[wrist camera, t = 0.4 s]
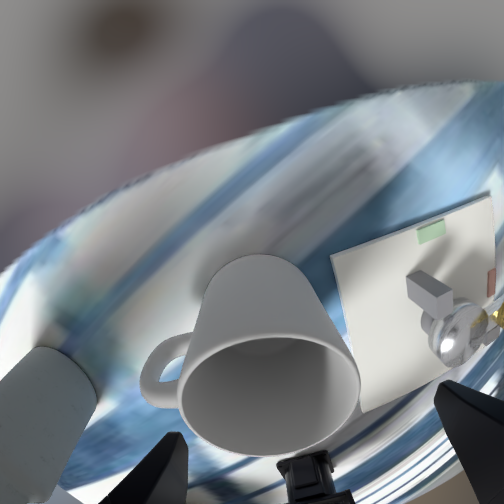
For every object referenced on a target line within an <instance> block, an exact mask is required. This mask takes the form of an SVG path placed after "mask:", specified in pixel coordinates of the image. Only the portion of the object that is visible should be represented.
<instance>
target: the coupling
mask: <svg viewBox="0 0 504 504" xmlns="http://www.w3.org/2000/svg"><path fill="white" fill-rule="evenodd" d="M497 325H499V326H500V327H501V328H503V329H504V295H502V296H501V297H500V298H498V299H497V300H495V301H494V302H493V303H491V304H490V305H488V306H487V307H485V308H484V309H483V308H482V307H480V306H479V305H477V304H475V303H474V302H472V301H471V300H469V299H468V298H465V297H458V298H455V299H453V313H451V314H449V315H447V316H446V317H444V318H442V319H440V320H438V321H436V320H435V319H434V321H433V323H432V325H431V328H430V331H429V335H428V345H429V348H430V350H431V351H432V352H433V353H434V354H435V355H436V356H437V357H438V358H439V359H440V361H441V362H442V363H443V364H444V365H445V366H447V367H450V368H453V367H457V366H460V365H462V364H463V363H465V362H466V361H467V360H469V359H470V358H471V357H472V356H473V355H474V353H475V352H476V351H477V350H478V348H479V347H480V345H481V344H482V342H483V340H484V337H485V335H486V333H487V332H489V331H490V330H491V329H493V328H494V327H495V326H497Z"/></svg>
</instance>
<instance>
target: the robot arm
mask: <svg viewBox="0 0 504 504" xmlns="http://www.w3.org/2000/svg"><path fill="white" fill-rule="evenodd" d="M434 405H435V407H436V410H437V412H438V414H439V417H440V419H441V422H442V425H443V427H444V430H445V432H446V434H447V436H448V438H449V440H450V442H451V444H452V446H453V448H454V450H455V452H456V454H457V456H458V458H459V460H460V462H461V464H462V466H463V468H464V470H465V472H466V474H467V477H468V479H469V481H470V483H471V485H472V487H473V490H474V492H475V494H476V496H477V499H478V501H479V503H480V504H504V401H502V400H500V399H497V398H494V397H492V396H489V395H487V394H484V393H482V392H479V391H476V390H474V389H471V388H469V387H466V386H464V385H462V384H459V383H457V382H454V381H452V380H446V381H443V382H441V383H440V384H439V385H438V388H437V391H436V394H435V397H434ZM276 466H277V469H278V470H279V472H280V473H281V475H282V476H283V478H284V479H285V481H286V487H287V495H288V502H289V503H286V504H355V501H354V499H353V497H352V494H351V492H350V489H348V490H345V491H343V492H339V493H336V490H335V486H334V483H333V479H332V475H331V473H333V472H334V469H333V466H332V463H331V460H330V457H329V453H328V451H326V450H325V451H321V452H318V453H314V454H311V455H307V456H304V457H300V458H296V459H292V460H288V461H284V462H279V463H277V464H276ZM187 487H188V446H187V444H186V442H185V440H184V438H183V435H182V434H181V433H180V432H168V433H167V434H166V435H165V436H164V437H163V438H162V439H161V440H160V441H159V442H158V443H157V445H156V446H155V447H154V448H153V449H152V450H151V451H150V452H149V453H148V454H147V455H146V456H145V457H144V458H143V459H142V461H141V462H140V463H139V464H138V465H137V466H136V467H135V468H134V469H133V470H132V471H131V472H130V473H129V474H128V475H127V476H126V477H125V478H124V479H123V480H122V481H121V482H120V483H119V484H118V485H117V486H116V487H115V488H114V489H113V490H112V491H111V492H110V493H109V494H108V496H106V497H105V498H104V499H103V500H102V501H101V502H99V503H98V504H185V502H186V495H187Z"/></svg>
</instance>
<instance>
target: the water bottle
mask: <svg viewBox="0 0 504 504" xmlns="http://www.w3.org/2000/svg"><path fill="white" fill-rule="evenodd" d="M96 405H97V398H96V393H95V390H94V388H93V385H92V384H91V382H90V380H89V379H88V377H87V376H86V375H85V373H84V372H83V371H82V370H81V369H80V368H79V366H78V365H76V364H75V363H74V362H73V361H72V360H71V359H70V358H68V357H67V356H66V355H64V354H62V353H61V352H59V351H57V350H55V349H52V348H49V347H36V348H34V349H32V350H31V351H30V352H29V353H28V354H27V355H26V356H25V357H24V358H23V359H22V360H21V361H20V362H19V363H17V364H16V365H15V367H14V368H13V369H12V370H11V371H10V372H9V373H8V374H7V375H6V376H5V377H4V378H3V379H2V380H1V381H0V504H27V503H44V502H47V501H48V500H49V498H50V497H51V495H52V493H53V491H54V489H55V487H56V485H57V482H58V480H59V478H60V476H61V474H62V472H63V470H64V468H65V466H66V464H67V462H68V460H69V458H70V456H71V454H72V452H73V450H74V448H75V446H76V444H77V442H78V441H79V439H80V437H81V435H82V433H83V431H84V429H85V427H86V425H87V424H88V422H89V420H90V418H91V416H92V414H93V413H94V411H95V409H96Z"/></svg>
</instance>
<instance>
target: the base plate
mask: <svg viewBox="0 0 504 504" xmlns="http://www.w3.org/2000/svg"><path fill="white" fill-rule="evenodd" d="M330 260H331V264H332V267H333V271H334V275H335V280H336V284H337V288H338V292H339V296H340V301H341V305H342V310H343V314H344V319H345V323H346V328H347V333H348V338H349V343H350V348H351V353H352V356H353V358H354V360H355V362H356V364H357V367H358V370H359V373H360V379H361V391H360V396H359V401H360V408H361V411H362V413H365V412H368V411H370V410H373V409H375V408H377V407H380V406H382V405H384V404H386V403H389V402H391V401H393V400H395V399H397V398H399V397H401V396H403V395H405V394H407V393H409V392H411V391H413V390H415V389H417V388H419V387H421V386H423V385H425V384H426V383H428V382H430V381H432V380H434V379H435V378H437V377H439V376H441V375H442V374H444V373H446V372H447V371H449V370H451V369H452V368H450V367H447V366H445V365H444V364H443V363H442V362H441V361H440V359H439V358H438V357H437V356H436V355H435V354H434V353H433V352H432V351H431V350H430V348H429V345H428V335H429V331H430V328H431V325H432V323H433V321H434V319H435V320H436V321H438V320H440V319H442V318H444V317H446V316H447V315H449V314H451V313H453V299H455V298H458V297H465V298H468V299H469V300H471V301H472V302H474V303H475V304H477V305H479V306H480V307H482V308H483V309H484V308H485V307H487V306H488V305H490V304H491V303H493V302H494V294H495V283H496V268H495V233H494V218H493V208H492V199H491V196H484V197H482V198H479V199H477V200H474V201H472V202H470V203H467V204H465V205H462V206H460V207H457V208H455V209H452V210H450V211H447V212H445V213H442V214H440V215H437V216H435V217H432V218H429V219H427V220H424V221H422V222H419V223H417V224H414V225H411V226H409V227H406V228H403V229H401V230H398V231H395V232H393V233H390V234H387V235H385V236H382V237H379V238H377V239H374V240H371V241H369V242H366V243H363V244H360V245H358V246H355V247H352V248H349V249H347V250H344V251H341V252H338V253H335V254H332V255H330ZM499 333H500V326H499V325H497V326H495V327H494V328H493V329H491V330H490V331H489V332H487V333H486V335H485V337H484V340H483V342H482V344H481V345H480V347H479V348H478V350H477V351H476V352H475V353H477V352H478V351H479V350H481V349H482V348H484V347H485V346H487V345H489V344H490V343H491V342H493V341H494V340H495V339H496V338H498V337H499ZM475 353H474V354H475ZM453 368H454V367H453Z"/></svg>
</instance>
